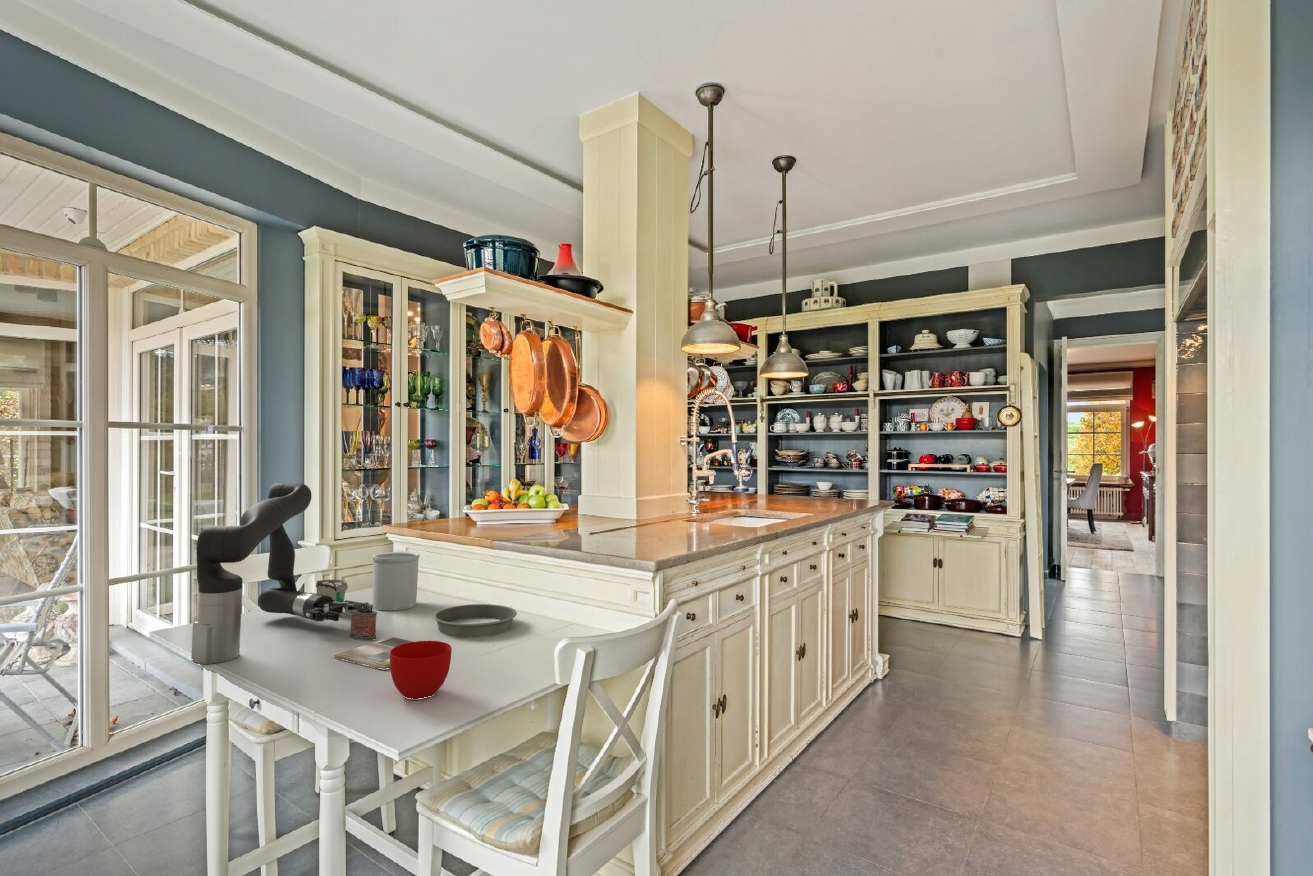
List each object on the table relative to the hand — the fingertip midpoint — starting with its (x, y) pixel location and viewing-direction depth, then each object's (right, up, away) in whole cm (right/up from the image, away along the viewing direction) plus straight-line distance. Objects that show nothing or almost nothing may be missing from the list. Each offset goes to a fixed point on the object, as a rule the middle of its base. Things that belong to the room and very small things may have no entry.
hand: (351, 613), depth 184 cm
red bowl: (+34, -7, -40) cm, 53 cm away
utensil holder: (-1, -7, +34) cm, 34 cm away
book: (+17, -6, -16) cm, 24 cm away
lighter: (+4, -6, -2) cm, 8 cm away
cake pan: (+32, -8, +12) cm, 35 cm away
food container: (-17, -6, +23) cm, 29 cm away
